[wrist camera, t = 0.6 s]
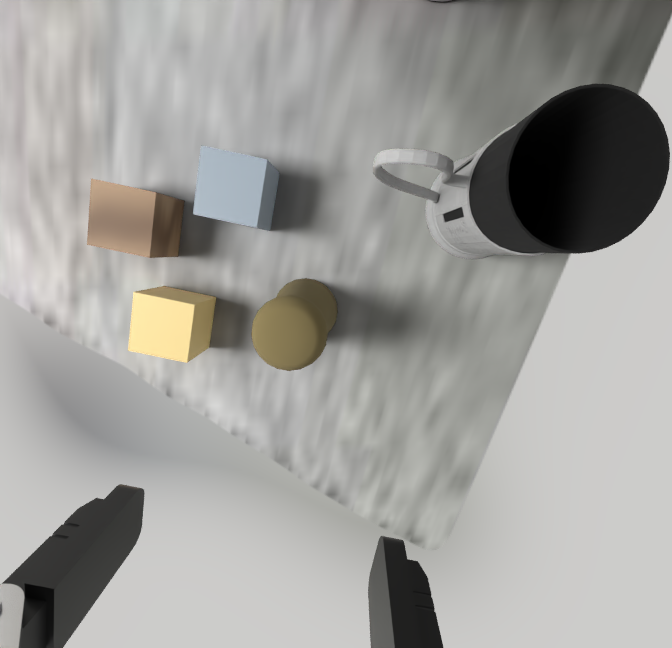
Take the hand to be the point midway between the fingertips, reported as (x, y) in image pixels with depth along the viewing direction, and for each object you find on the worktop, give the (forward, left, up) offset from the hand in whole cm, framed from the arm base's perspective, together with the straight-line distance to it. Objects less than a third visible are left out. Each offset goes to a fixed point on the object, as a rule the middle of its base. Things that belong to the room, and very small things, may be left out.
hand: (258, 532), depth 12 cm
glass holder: (-15, +8, -23) cm, 29 cm away
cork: (-3, -2, -23) cm, 24 cm away
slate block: (-12, -9, -23) cm, 28 cm away
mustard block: (0, -13, -23) cm, 26 cm away
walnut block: (-8, -17, -23) cm, 30 cm away
